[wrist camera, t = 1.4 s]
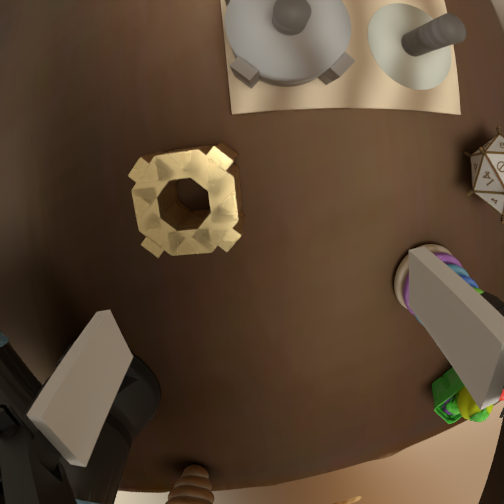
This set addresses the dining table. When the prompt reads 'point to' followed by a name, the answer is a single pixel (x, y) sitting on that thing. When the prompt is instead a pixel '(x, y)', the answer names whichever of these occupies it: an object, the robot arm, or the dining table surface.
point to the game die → (489, 173)
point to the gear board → (353, 80)
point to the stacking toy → (444, 255)
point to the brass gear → (178, 215)
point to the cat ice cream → (192, 487)
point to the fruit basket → (456, 400)
